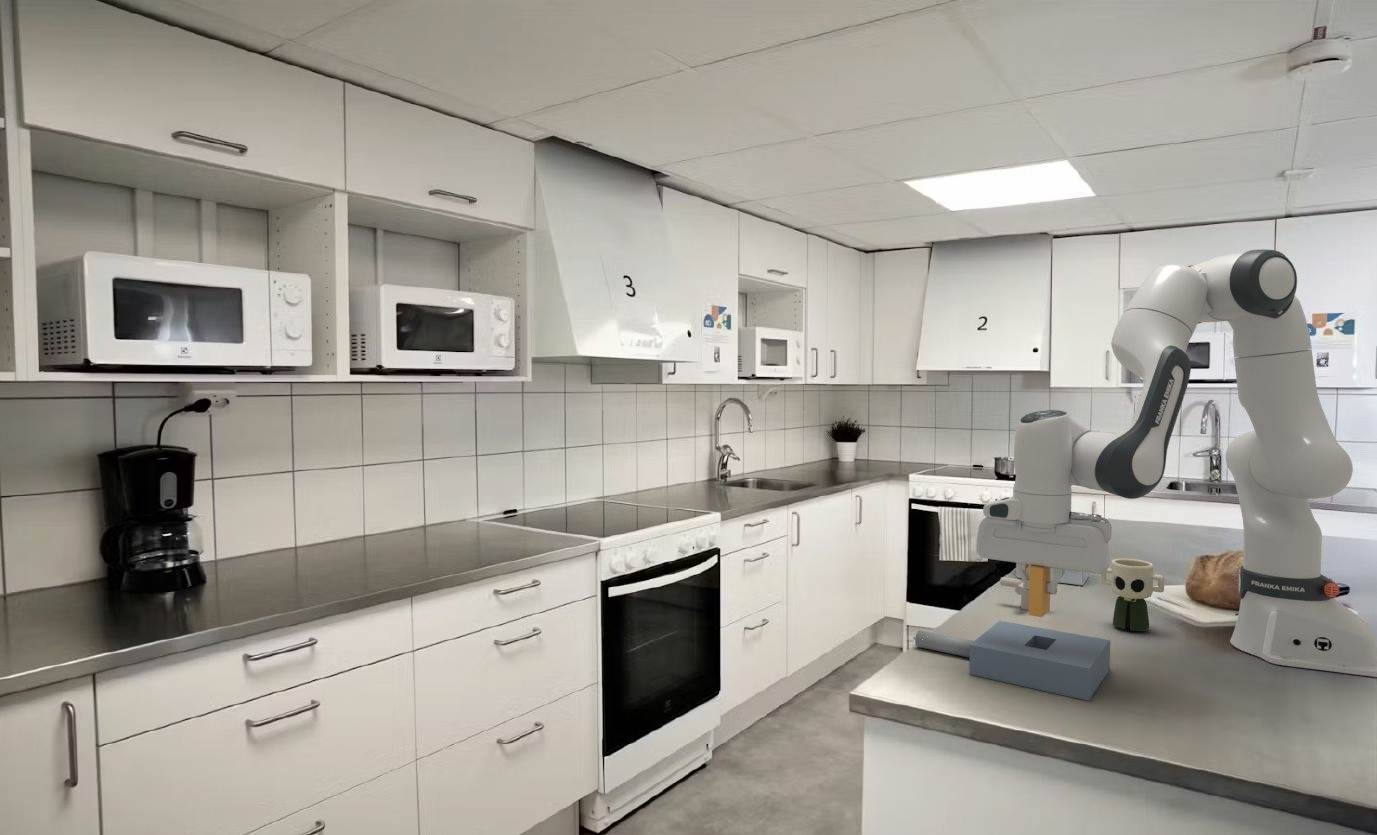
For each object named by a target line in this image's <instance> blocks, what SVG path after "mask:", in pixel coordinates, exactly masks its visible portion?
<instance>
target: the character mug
mask: <svg viewBox="0 0 1377 835" xmlns="http://www.w3.org/2000/svg"><path fill="white" fill-rule="evenodd" d="M1107 574H1110V575H1111V576H1110V577H1111V578H1110V579H1107ZM1154 580H1155V581H1158V582H1157V583H1158V585H1157V586H1154ZM1100 583H1101V585H1106V586H1111V588H1110V589H1111V592H1112V594H1114V595H1117V598H1116V600H1115V605H1114V610H1113V611H1114V612H1113V618H1112V625H1113V626H1115V627H1116V628H1119V629H1122V630H1125V629H1126V626H1127V627H1129V630H1130V631H1134V632H1135V631H1136V632H1141V631H1142V632H1143V631H1147V630H1148V629H1150V617H1149V612H1148V604H1147V601H1146V600H1145V599H1149V598H1151V597H1152V595H1153V593H1164V591H1165V577H1164V575H1161V574H1154V565H1153V563H1151V562H1150V561H1146V560H1142V559H1136V558H1135V559H1134V558H1114V559H1112V560H1111V568H1110V567H1109V568H1108V569H1107V570H1106V571H1105V572H1103V573H1102V574H1100Z"/></svg>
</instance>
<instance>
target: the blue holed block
mask: <svg viewBox="0 0 1377 835" xmlns="http://www.w3.org/2000/svg"><path fill="white" fill-rule="evenodd" d="M927 636H928V637H927ZM922 639H923V640H922ZM914 640H915V642H914V643H915V646H916V647H917V648H922V649H927V650H932V651H936V652H941V653H946V654H950V655H955V656H960V657H965V658H969V675H970V676H971V675H972V676H976V677H980V678H984V679H989V680H992V681H993V680H994V681H999V682H1001V683H1008V684H1012V685H1016V686H1020V687H1025V688H1030V689H1033V690H1038V691H1043V692H1048V693H1052V694H1057V695H1060V696H1061V695H1062V696H1065V697H1070V698H1074V699H1080V700H1083V701H1090V700H1091V698H1092V697H1093V695H1094V693H1095V692H1097V689H1098V688H1099V686H1100V685H1101V683H1103V680H1104V679H1105V677H1106V676H1107V674H1109V671H1110V670H1111V662H1110V661H1111V639H1106V638H1101V637H1100V638H1099V637H1094V636H1088V635H1082V634H1078V633H1071V632H1066V631H1061V630H1055V629H1049V628H1043V627H1037V626H1033V625H1027V624H1020V623H1017V622H1015V623H1014V622H1010V621H1003V620H998V621H997V622H996V623H994V624H993V625H992V626H991V627H990V628H988V629H987V630H986V631H985V632H984V633H982V634H980V636H979V637H978V638H976V639H975V640H973V639H967V638H961V637H956V636H951V635H946V634H940V633H935V632H931V631H926V630H921V629H919V630H917V632H916V635H915V639H914Z"/></svg>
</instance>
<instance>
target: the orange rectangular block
mask: <svg viewBox="0 0 1377 835" xmlns="http://www.w3.org/2000/svg"><path fill="white" fill-rule="evenodd" d="M1050 575H1051V567H1045V566H1037V565H1032V566H1031V567H1030V581H1029V610H1028V616H1031V617H1032V616H1033V617H1037V618H1043V617H1044V616H1046V614H1048V613H1049V611H1051V609H1050V608H1051V594H1047V593H1045V589H1046V588H1045V583H1046V582H1047V581H1050Z"/></svg>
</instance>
